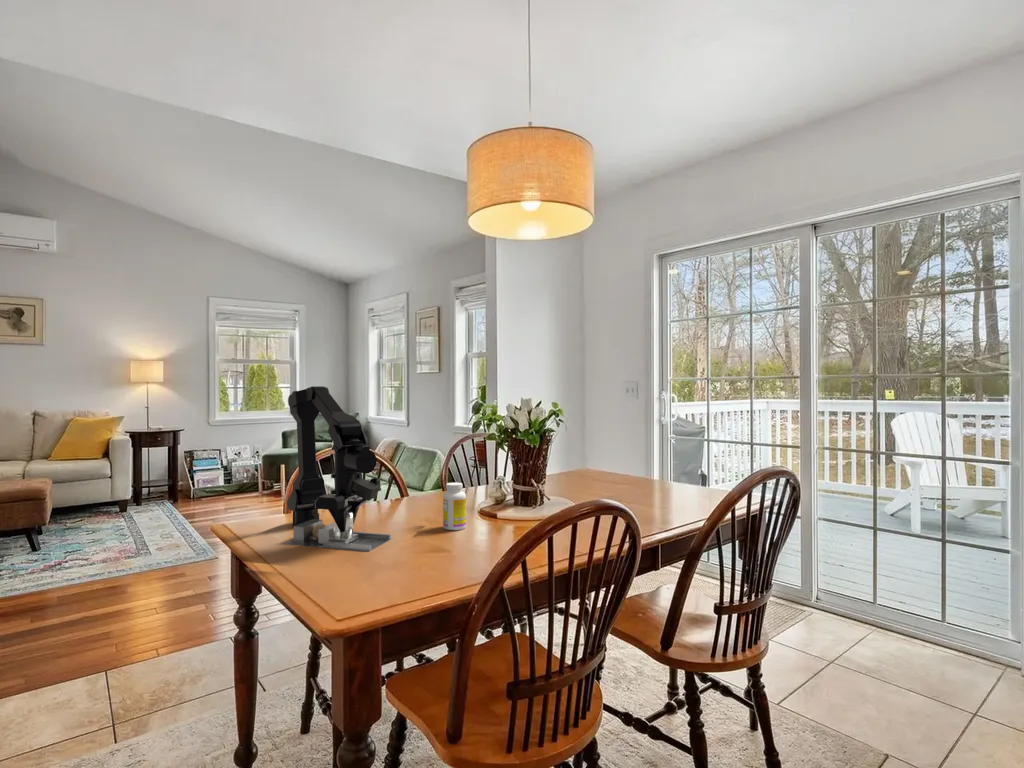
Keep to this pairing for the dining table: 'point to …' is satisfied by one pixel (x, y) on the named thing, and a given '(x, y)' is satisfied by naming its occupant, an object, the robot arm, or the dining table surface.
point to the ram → (338, 532)
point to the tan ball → (315, 530)
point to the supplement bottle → (454, 507)
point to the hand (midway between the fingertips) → (346, 530)
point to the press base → (362, 543)
